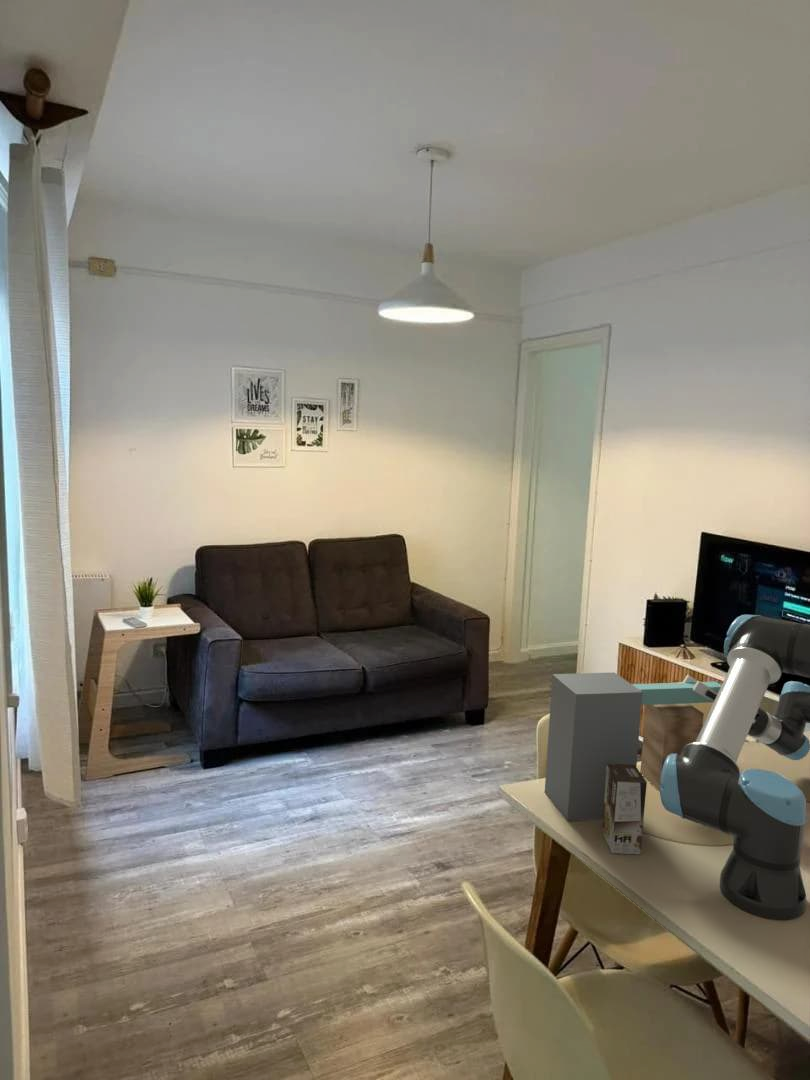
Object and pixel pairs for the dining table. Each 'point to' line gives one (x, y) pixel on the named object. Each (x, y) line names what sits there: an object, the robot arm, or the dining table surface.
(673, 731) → the walnut pedestal
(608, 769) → the coffee box
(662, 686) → the teal bar
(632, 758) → the tall stand
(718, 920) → the dining table surface
